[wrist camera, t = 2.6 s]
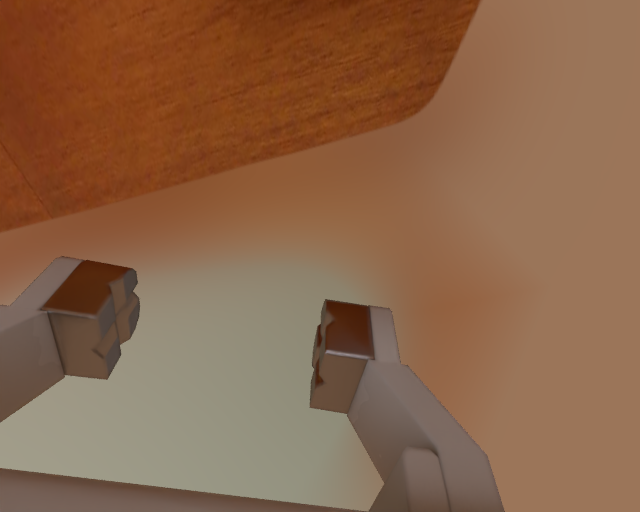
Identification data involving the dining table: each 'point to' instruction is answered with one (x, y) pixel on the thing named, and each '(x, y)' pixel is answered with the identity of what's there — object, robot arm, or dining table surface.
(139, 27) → the dining table surface
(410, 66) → the dining table surface
